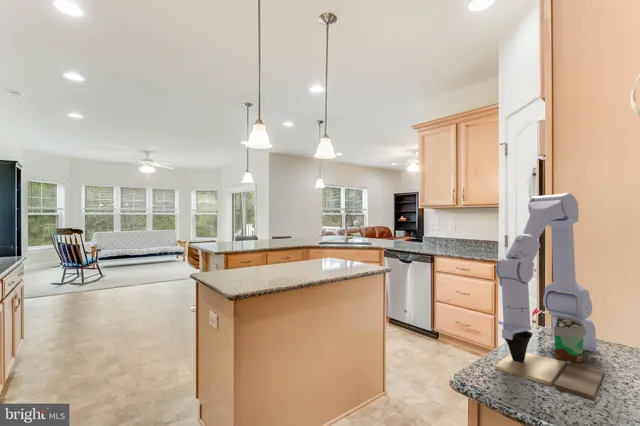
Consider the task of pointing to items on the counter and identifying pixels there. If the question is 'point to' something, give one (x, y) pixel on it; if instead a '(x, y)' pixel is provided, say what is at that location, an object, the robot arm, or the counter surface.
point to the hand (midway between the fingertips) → (518, 361)
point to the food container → (569, 340)
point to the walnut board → (580, 380)
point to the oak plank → (533, 368)
